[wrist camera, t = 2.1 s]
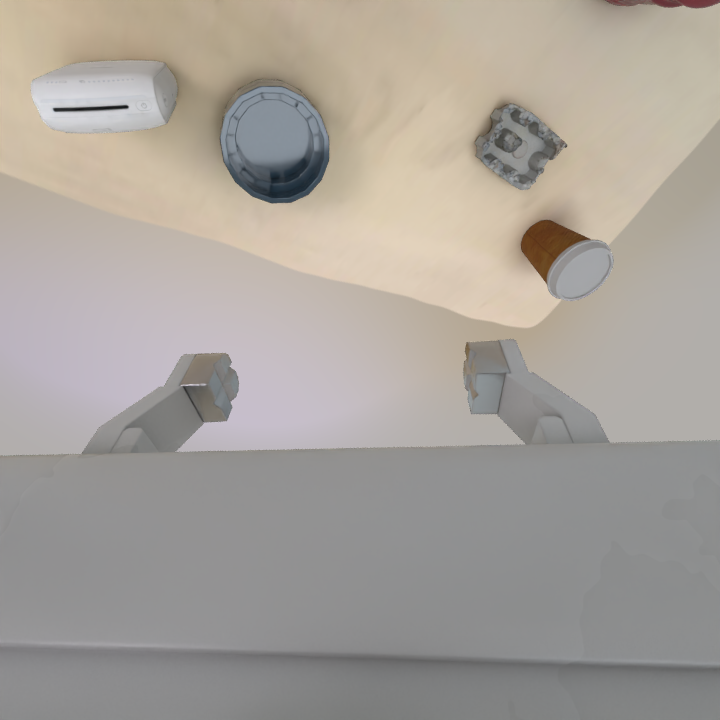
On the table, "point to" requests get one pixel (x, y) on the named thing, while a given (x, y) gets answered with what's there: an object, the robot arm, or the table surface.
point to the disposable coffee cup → (567, 260)
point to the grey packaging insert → (518, 146)
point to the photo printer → (106, 96)
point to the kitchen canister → (667, 3)
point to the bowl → (274, 141)
